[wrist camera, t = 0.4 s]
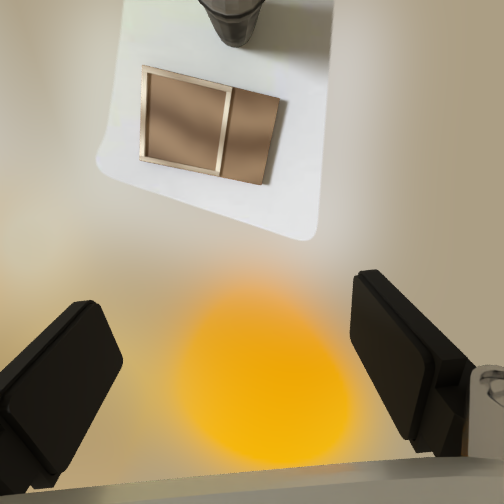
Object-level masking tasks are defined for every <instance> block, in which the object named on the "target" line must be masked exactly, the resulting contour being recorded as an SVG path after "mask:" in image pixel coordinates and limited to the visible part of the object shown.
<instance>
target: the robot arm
mask: <svg viewBox="0 0 504 504" xmlns="http://www.w3.org/2000/svg"><path fill="white" fill-rule="evenodd" d="M350 339H351V342H352V344H353V346H354V348H355V350H356V352H357V354H358V356H359V358H360V359H361V361H362V363H363V365H364V367H365V369H366V371H367V373H368V375H369V377H370V378H371V380H372V382H373V384H374V386H375V388H376V390H377V392H378V393H379V395H380V397H381V399H382V401H383V403H384V405H385V407H386V409H387V411H388V412H389V414H390V416H391V418H392V420H393V422H394V424H395V426H396V428H397V429H398V431H399V433H400V435H401V436H402V437H403V439H405V440H409V441H410V443H411V445H412V446H413V448H414V450H415V452H416V453H423V452H433V454H434V455H435V457H426V458H411V459H398V460H397V459H396V460H383V461H367V462H353V463H342V464H331V465H320V466H308V467H297V468H286V469H274V470H263V471H252V472H241V473H230V474H220V475H209V476H198V477H188V478H177V479H167V480H156V481H146V482H135V483H125V484H115V485H106V486H95V487H86V488H85V487H84V488H75V489H65V490H55V491H45V492H36V493H26V491H27V489H28V488H29V486H30V485H31V486H32V487H33V488H34V489H43V488H52V487H54V485H55V483H56V482H57V480H58V478H59V476H60V474H61V473H62V472H64V471H65V470H66V469H67V468H68V466H69V464H70V462H71V461H72V459H73V457H74V455H75V453H76V451H77V449H78V447H79V446H80V444H81V442H82V440H83V438H84V436H85V434H86V433H87V431H88V429H89V427H90V425H91V423H92V421H93V420H94V418H95V416H96V414H97V412H98V410H99V408H100V406H101V405H102V403H103V401H104V399H105V397H106V395H107V393H108V392H109V390H110V388H111V386H112V384H113V382H114V380H115V379H116V377H117V375H118V373H119V371H120V369H121V367H122V364H123V357H122V354H121V352H120V350H119V347H118V345H117V343H116V341H115V338H114V336H113V334H112V331H111V329H110V327H109V325H108V322H107V320H106V318H105V315H104V313H103V311H102V308H101V306H100V305H99V304H97V303H96V302H94V301H92V300H87V301H78V302H74V303H72V304H71V305H70V306H69V307H68V308H67V309H66V310H65V311H64V312H63V313H62V314H61V315H60V316H59V317H57V318H56V320H54V321H53V322H52V323H51V324H50V325H49V326H48V327H47V328H46V329H45V330H44V331H43V332H42V333H41V334H40V335H39V336H38V337H37V338H36V339H35V340H34V341H33V342H31V343H30V344H29V345H28V346H27V347H26V348H25V349H24V350H23V351H22V352H21V353H20V354H19V355H18V356H17V357H16V358H15V359H14V360H13V361H11V363H9V364H8V365H7V366H6V367H5V368H4V369H3V370H2V371H1V372H0V504H504V367H502V366H497V365H483V366H478V367H476V366H475V365H474V364H473V363H472V362H471V361H470V360H469V359H468V358H467V357H466V356H465V355H464V354H463V353H462V352H461V351H460V350H459V349H458V348H457V347H456V346H455V345H454V344H453V343H452V342H451V341H450V340H449V339H448V338H447V337H446V336H445V335H444V334H443V333H442V332H441V331H440V330H439V329H438V328H437V327H436V326H435V325H434V324H432V322H431V321H430V320H429V319H427V318H426V317H425V316H424V315H423V314H422V313H421V312H420V311H419V310H418V309H417V308H416V307H415V306H414V305H413V304H412V303H411V302H410V301H409V300H408V299H407V298H406V297H405V296H404V295H403V294H402V293H401V292H400V291H399V290H398V289H397V288H396V287H395V286H394V285H393V284H392V283H391V282H390V281H388V279H387V278H385V276H384V275H382V274H381V273H380V272H379V271H378V270H366V271H360V272H359V273H358V275H357V276H354V279H353V293H352V307H351V321H350Z"/></svg>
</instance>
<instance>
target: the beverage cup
mask: <svg viewBox="0 0 504 504" xmlns="http://www.w3.org/2000/svg"><path fill="white" fill-rule="evenodd" d="M198 1H199V2H200V4H202V5H203V6H204V8H205V9H206V11H207V14H208V16H209V18H210V20H211V22H212V24H213V26H214V28H215V31H216V32H217V34H218V35H219V37H220V39H221V40H222V41H223V42H224V43H225V44H226V45H228V46H231V47H240V46H242V45H244V44H245V43H246V42H247V41H248V40H249V38H250V37H251V35H252V32H253V30H254V27H255V24H256V21H257V18H258V15H259V11H260V8H261V5H262V3H263V2H264V1H265V0H198Z"/></svg>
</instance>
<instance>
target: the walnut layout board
mask: <svg viewBox="0 0 504 504" xmlns="http://www.w3.org/2000/svg"><path fill="white" fill-rule="evenodd" d="M279 100H280V98H276V97H272V96H268V95H264V94H259V93H255V92H251V91H247V90H243V89H239V88H235V87H231V86H227V85H223V84H219V83H215V82H211V81H207V80H202V79H198V78H194V77H190V76H186V75H182V74H178V73H174V72H170V71H166V70H162V69H158V68H154V67H150V66H145V65H142V84H141V121H140V157H139V160H140V161H145V162H149V163H154V164H159V165H164V166H169V167H174V168H179V169H184V170H189V171H193V172H198V173H203V174H208V175H213V176H218V177H223V178H228V179H232V180H237V181H242V182H247V183H252V184H257V185H261V184H262V180H263V175H264V170H265V166H266V161H267V156H268V152H269V147H270V142H271V138H272V133H273V128H274V124H275V119H276V114H277V109H278V105H279Z"/></svg>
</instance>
